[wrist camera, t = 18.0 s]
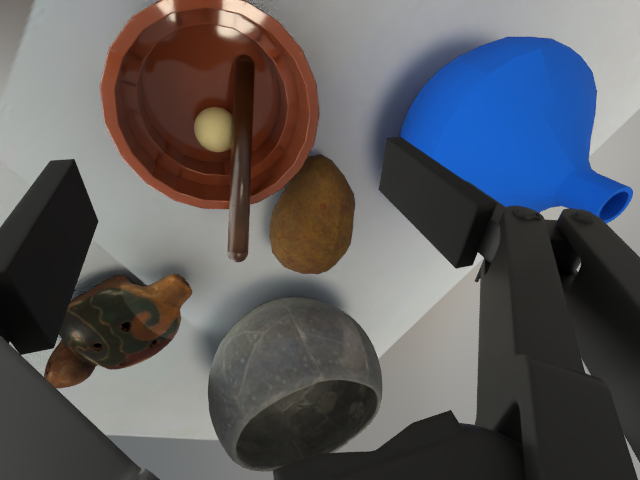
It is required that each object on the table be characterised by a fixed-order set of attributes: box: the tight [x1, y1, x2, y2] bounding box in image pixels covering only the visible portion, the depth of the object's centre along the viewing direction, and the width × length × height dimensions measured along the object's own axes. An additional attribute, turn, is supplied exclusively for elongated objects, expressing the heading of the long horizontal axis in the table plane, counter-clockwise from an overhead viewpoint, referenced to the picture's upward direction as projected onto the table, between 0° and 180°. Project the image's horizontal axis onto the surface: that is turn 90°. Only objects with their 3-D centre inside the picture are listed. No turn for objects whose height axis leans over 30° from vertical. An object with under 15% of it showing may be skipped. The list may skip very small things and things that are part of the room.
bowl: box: [208, 297, 382, 471], centre depth 42 cm, size 20×20×15 cm
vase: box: [400, 37, 633, 223], centre depth 31 cm, size 18×18×19 cm
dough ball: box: [194, 107, 233, 152], centre depth 29 cm, size 4×4×4 cm
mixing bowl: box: [100, 0, 319, 209], centre depth 27 cm, size 15×15×6 cm
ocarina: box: [44, 273, 192, 388], centre depth 35 cm, size 10×15×8 cm, turn 118°
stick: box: [228, 55, 255, 262], centre depth 28 cm, size 2×2×17 cm
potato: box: [270, 155, 355, 274], centre depth 35 cm, size 8×12×9 cm
